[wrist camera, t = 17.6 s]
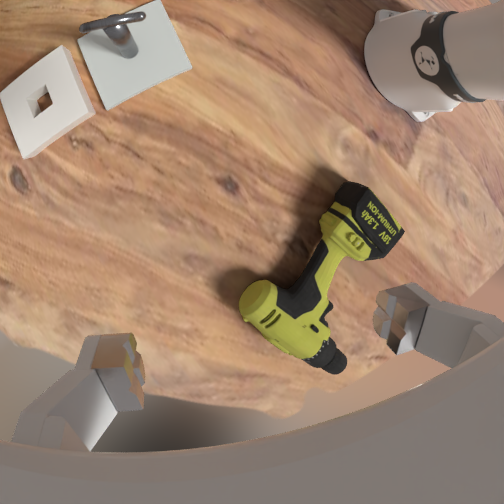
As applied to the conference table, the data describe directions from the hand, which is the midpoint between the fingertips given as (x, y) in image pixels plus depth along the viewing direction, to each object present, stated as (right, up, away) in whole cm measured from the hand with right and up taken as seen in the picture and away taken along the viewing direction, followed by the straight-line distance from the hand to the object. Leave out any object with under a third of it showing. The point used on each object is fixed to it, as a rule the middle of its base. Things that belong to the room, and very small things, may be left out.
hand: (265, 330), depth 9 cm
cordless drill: (+13, -3, +37) cm, 39 cm away
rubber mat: (-14, +26, +18) cm, 35 cm away
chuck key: (-14, +26, +17) cm, 34 cm away
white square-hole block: (-25, +21, +18) cm, 37 cm away
